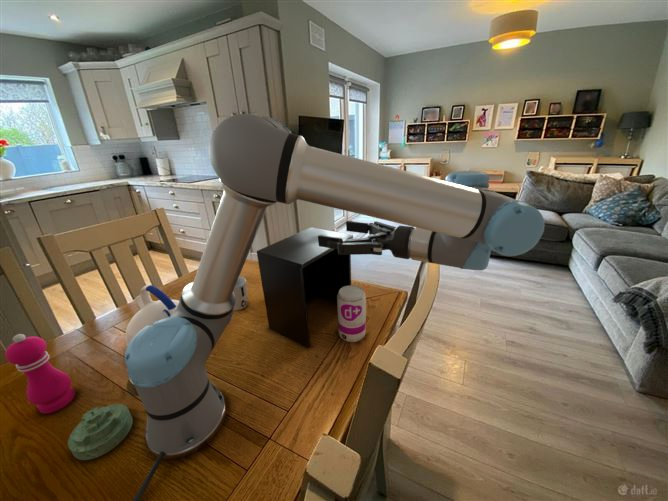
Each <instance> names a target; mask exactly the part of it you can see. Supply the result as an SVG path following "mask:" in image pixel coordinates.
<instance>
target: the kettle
mask: <svg viewBox="0 0 668 501" xmlns="http://www.w3.org/2000/svg"><path fill="white" fill-rule="evenodd" d="M139 292H140V294H139V295H137V296H136V297H135V298H134V300H133V301H134V302H135V303H136V304H137V306H138V307H139V308H140V309H139V310H138V311H136V313H135V314H134V315H133V316H132V317H131V319H130V321H129V323H128V324H127V326H126V328H125V329H126V330H125V335H124V336H125V337H124V339H125V344H126V347H127V346H128V344H129V343H130V341H131V340H132V339H133V337H134V336H135V335H136V334H137V333H138V332H140V331H141V330H142V329H144V328H145V327H146V326H152V325H153V324H154V322H156V321H158V320H161V319H164V318H169V317H171V316H172V315H173V314H174V312H175V311H176V309H177V307H178V304H179V301H180V300H178V299H173V298H170V297H169V296H168V295H167V294H166V293H165V292H164V291H162V290H161V289H160V288H158V287H156V286H154V285H153V284H146V285H143V287H142V288H141V289H140V291H139ZM151 295H153V296H154V297H156V298H157V299H158V300H153V299H152V297H151Z"/></svg>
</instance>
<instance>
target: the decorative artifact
mask: <svg viewBox="0 0 668 501" xmlns="http://www.w3.org/2000/svg"><path fill="white" fill-rule="evenodd" d="M133 422H134V420H133V416H132V414H131V412H130V410H129V408H128V407H127V406H126V405H124V404H122V403H117V404H115V403H114V404H110V405H106V406H103V407H100V406H99V405H97V406H96V407H94V408H92V409H90V410H89V411H87V412H85V413H84V414H83V415H82V418H81V421H80V422H79V423H78V424H77V425H76V426H75V427H74V428H73V430H72V431H71V433H70V435H69V437H68V439H67V447H68V449H69V451H70V452H71V453H72V455H73V456H74V458H76V459H77V460H80V461H90V460H94V459H97V458H99V457H102V456H103V455H105V454H107V453H109V452H110V451H111V450H113V449H115V448H116V447H117V446H118V445H119V444H120V443H121V442H122V441H123V440H124V439H125V438H126V437H127V435H128V434H129V432H130V431H131V429H132V426H133Z"/></svg>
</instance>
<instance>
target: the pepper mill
mask: <svg viewBox="0 0 668 501" xmlns="http://www.w3.org/2000/svg"><path fill="white" fill-rule="evenodd" d="M12 341H13V342H12V343H11V344H10V345H9V346H8V347H7V348H6V350H5V353H4V356H5V359H6V361H7V362H8V363H10V364H12V365H15V368H16V369H17V371H18V372H20V373H23V374H24V375H25V376H26V379H27V387H26V397H27V400H28V402H29V403H30V404H32V405H36V408H37V409H38V411H39V412H40V413H41V414H45V415H47V414H51V413H55V412H57V411H60V410H61V409H63V408H64V407H66V406H68V405H69V403H71V402H72V401H73V400H74V398H75V396H76V392H75V390H74V388H73V386H71V385H72V378H70V376H69V375H68V374H67V373H66V372H65V371H63V370H60V369H59V368H56V367H54V366H53V365H52V364H51V362H50V354H49V352H48V351H47V345H48V344H47V342H46V341H45V340H44V339H43V338H41V337H39V336H34V335H33V336H32V335H31V336H26V335H25V334H23V333H18V334H16V335H14V336H13V337H12Z"/></svg>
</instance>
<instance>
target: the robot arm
mask: <svg viewBox="0 0 668 501" xmlns="http://www.w3.org/2000/svg"><path fill="white" fill-rule="evenodd" d="M208 158H209V161H210V164H211V167H212V169H213V171H214V173H215V174H216V176H217V177H218V181H219V183H220V184H221V186H222V188H223V193H222V196H221V199H220V202H219V205H218V208H217V210H216V214H215V216H214V220H213V223H212V225H211V228H210V231H209V234H208V238H207V240H206V243H205V246H204V250H203V252H202V255H201V258H200V261H199V263H198V264H199V265H198V267H197V271H196V273H195V276H194V279H193V281H192V282H189V283H188V284H186V285H185V286H184V287H183V289H182V292H181V294H180V298H179V300H178V301H179V304H178V307H177V309H176V311H175V312H174V314H173V315H172V316H171V317H169V318H164V319H161V320H158V321H156V322H154V324H153V325H152V326H146V327H145V328H144V329H142V330H141V331H140V332H138V333H137V334H136V335H135V336H134V337H133V339H132V340H131V341H130V343H129V344H128V346H127V345H126V349H125V352H124V362H125V366H126V371H127V375H128V378H129V379H130V381H131V383H132V384H133V386H134V388H135V391H136V393H137V395H138V397H139V399H140V401H141V403H142V406H143V408H144V410H145V412H146V427H145V443H146V445H147V447H148V449H149V451H150V452H151V454H152V456H154V457H156V459H155V461H154V463H153V465H152V467H151V468H150V470H149V472H148V474H147V475H146V476H145V478H144V481H143V482H142V484H141V486H140V487H139V490H138V491H137V493H136V495H135V497H134V498H133V500H132V501H140V500H141V498H142V496H143V495H144V493H145V491H146V489H147V487H148V485H149V484H150V482H151V480H152V479H153V477H154V475H155V474H156V471H157V469H158V468H159V466H160V464H161V462H162V460H167V461H169V460H170V461H171V460H178V459H182V458H185V457H187V456H190V455H192V454H194V453H195V452H197V451H199V450H200V449H202V448H203V447H204V446H206V445H207V444H208V443H209V442H210V441H212V440H213V438H214V437H215V436H216V435H217V433H218V432H219V430H221V427H222V426H223V423H224V422H225V419H226V415H227V405H226V401H225V396H224V395H223V393H222V392H221V391H220V390H219V388H218V387H217V386H216V385H215V384H214V383H213V382H212V381H211V380H210V379H209V375H208V372H207V370H206V369H207V368H206V362H207V360H208V358H209V357H210V355H211V353H212V352H213V350H214V348H215V346H216V345H217V343H218V342H219V340H220V338H221V336H222V335H223V333H224V331H225V330H226V328H227V327H228V326H229V324H230V323H231V320H232V318H233V314H234V311H235V310H234V305H235V301H236V299H235V295H234V294H233V290H234V288H235V285H236V283H237V280H238V278H239V277H241V276H240V275H241V273H242V271H243V268H244V265H245V263H246V261H247V258H248V256H249V254H250V251H251V249H252V246H253V244H254V241H255V238H256V236H257V233H258V231H259V229H260V226H261V223H262V221H263V218H264V216H265V214H266V211H267V209H268V207H271V206H273V205H276V204H278V203H280V204H285V205H290V204H292V203H294V202H296V201H299V200H300V201H303V202H308V203H312V204H315V205H319V206H325V207H329V208H333V209H338V210H341V211H346V212H349V213H354V214H358V215H363V216H367V217H370V218H375V219H379V220H384V221H387V222H392V223H397V224H399V225H398V226H393V225H390V224H387V223H383V222H380V221H377V220H376V221H373V222H369V223H368V222H358V221H350V220H347V221H345V226H346V228H345V229H346V232H351V233H358V234H369V235H368V236H367V237H360V238H359V237H358V238H353V239H348V240H342V238H341V237H340V238H337V237H330V236H323V235H319V236H318V242H319V246H320V247H326V248H332V249H338V254H339V255H351V256H353V255H354V256H355V255H356V256H357V255H359V256H361V255H373V256H374V255H375V256H382V255H383V251H390V252H391V254H392V256H393V257H394V258H398V259H403V260H410V259H411V260H412V261H417V262H422V263H423V264H427V263H429V264H435V265H441V266H447V267H453V268H457V269H460V270H468V271H469V270H470V271H484V270H486V269H487V268H488V266H489V264H490V257H491V253H492V251H493V252H495V253H497V254H499V255H500V256H505V257H515V256H520V255H523V254H525V253H527V252H529V251H531V250H532V249H533V248H534V247H535V246H536V245H537V244H538V243H539V242H540V240H541V238H542V236H543V234H544V231H545V226H546V225H545V224H546V223H545V219H544V216H543V214H542V212H540V211H539V209H537V208H536V207H534V206H532V205H530V204H528V203H527V202H526V201H525V200H524V201H523V200H519V199H515V198H512V197H510V196H507V195H505V194H501V193H499V192H496V191H494V190H492V189H489V188H490V184H489V180H490V177H489V174H488V173H487V172H486V171H481V170H458V171H453V172H450V173H448V174H447V175H446V176H445V179H444V180H442V179H439V178H436V177H431V176H427V175H423V174H420V173H415V172H412V171H408V170H404V169H400V168H396V167H392V166H389V165H384V164H380V163H377V162H372V161H369V160H365V159H361V158H358V157H355V156H354V157H353V156H350V155H345V154H342V153H338V152H333V151H331V150H326V149H323V148H320V147H319V148H318V147H315V146H311V145H309V144H308V143H307V141H306V140H305V137H303V135H300V134H295V133H292V131H290V130H289V128H288V127H286V125H285V124H283V123H281V122H279V120H278V119H274V118H272V117H270V116H259V115H256V114H251V113H238V114H233V115H231V116H228V117H227V118H225V119H223V120H222V121H220V123H219V124H218V125H217V126H216V127H215V128H214V130H213V131H212V133H211V136H210V140H209V142H208Z"/></svg>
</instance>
